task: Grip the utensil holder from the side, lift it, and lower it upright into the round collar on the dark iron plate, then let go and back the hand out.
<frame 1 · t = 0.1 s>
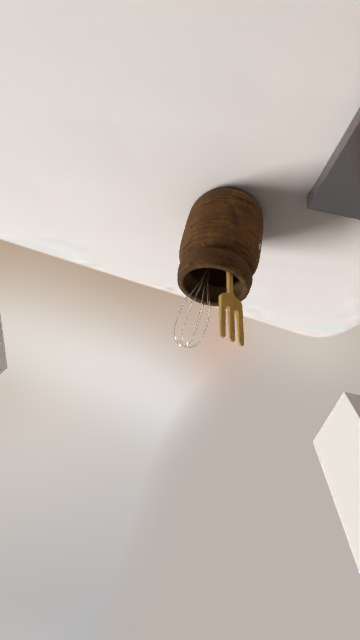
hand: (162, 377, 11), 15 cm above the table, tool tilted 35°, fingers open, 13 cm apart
utensil holder: (227, 214, 22), on the table
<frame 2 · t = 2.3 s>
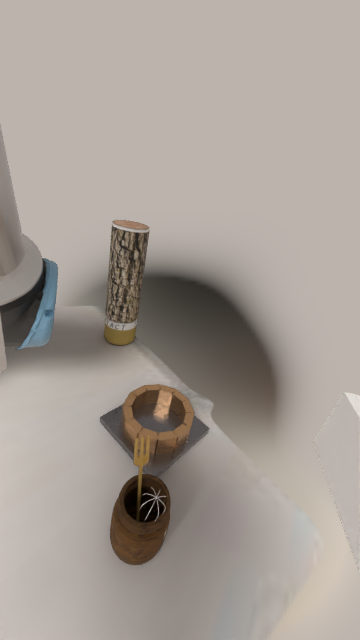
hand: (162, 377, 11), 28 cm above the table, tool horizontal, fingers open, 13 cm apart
utensil holder: (136, 533, 30), on the table
paper tube: (119, 338, 62), on the table
collar plate: (155, 427, 43), on the table
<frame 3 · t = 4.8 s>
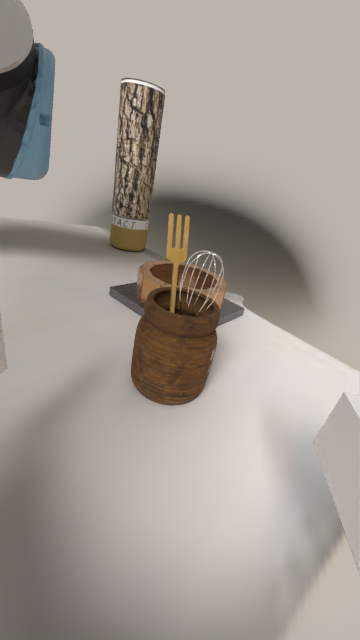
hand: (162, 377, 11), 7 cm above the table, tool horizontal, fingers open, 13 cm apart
utensil holder: (166, 380, 22), on the table
paper tube: (127, 248, 54), on the table
collar plate: (177, 305, 35), on the table
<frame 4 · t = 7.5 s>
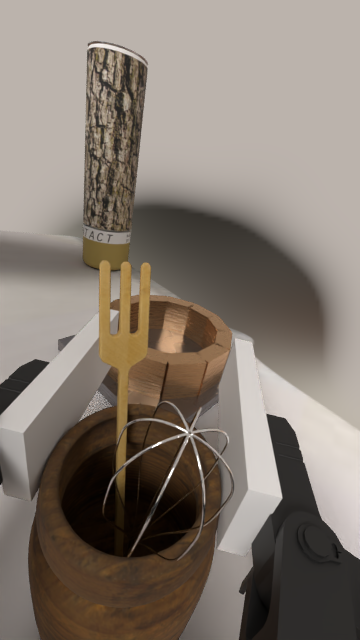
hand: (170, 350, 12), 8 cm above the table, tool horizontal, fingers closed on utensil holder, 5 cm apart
utensil holder: (117, 573, 11), on the table, touching gripper
paper tube: (105, 265, 43), on the table
collar plate: (159, 362, 24), on the table
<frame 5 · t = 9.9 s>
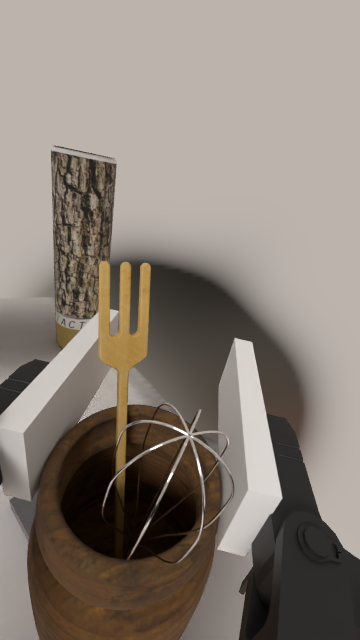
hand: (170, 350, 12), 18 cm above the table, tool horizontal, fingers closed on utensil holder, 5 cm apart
utensil holder: (117, 574, 11), point 10 cm above the table, touching gripper
paper tube: (80, 342, 42), on the table
collar plate: (121, 512, 22), on the table
when the fingers open (10 cm above the table, at t = 12.2 s): utensil holder drops 1 cm, resting on collar plate.
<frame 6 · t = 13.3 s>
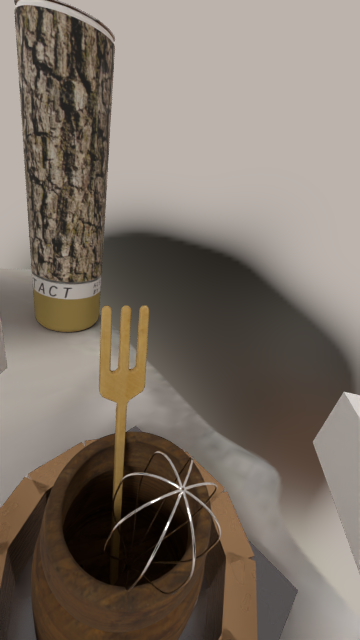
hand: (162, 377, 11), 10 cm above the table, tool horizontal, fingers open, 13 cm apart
utensil holder: (112, 588, 12), point 1 cm above the table, touching collar plate
paper tube: (68, 320, 32), on the table
collar plate: (114, 595, 12), on the table
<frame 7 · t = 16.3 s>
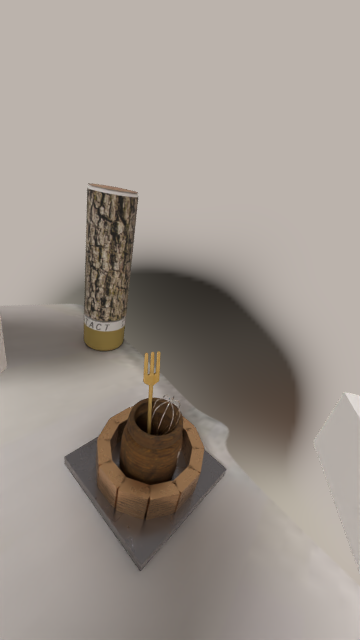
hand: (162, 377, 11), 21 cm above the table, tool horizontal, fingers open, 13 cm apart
utensil holder: (146, 464, 29), point 1 cm above the table, touching collar plate
paper tube: (103, 342, 49), on the table
collar plate: (147, 469, 29), on the table
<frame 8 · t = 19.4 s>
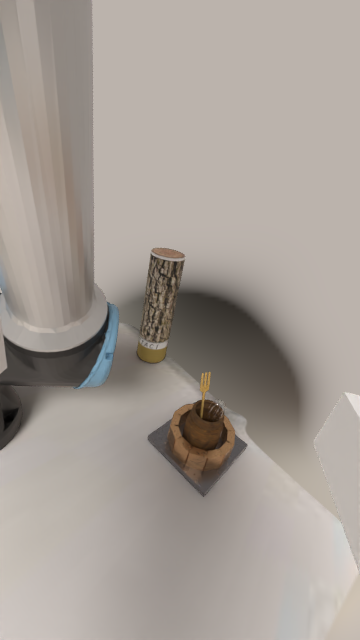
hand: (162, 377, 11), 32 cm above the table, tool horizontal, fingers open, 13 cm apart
utensil holder: (198, 441, 46), point 1 cm above the table, touching collar plate
paper tube: (150, 356, 66), on the table
collar plate: (197, 444, 46), on the table
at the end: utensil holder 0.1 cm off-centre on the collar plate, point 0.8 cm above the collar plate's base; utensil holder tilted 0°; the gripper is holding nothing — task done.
